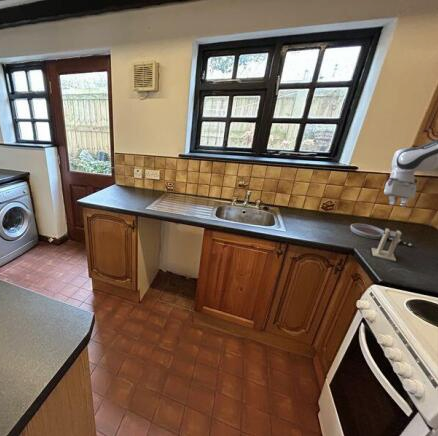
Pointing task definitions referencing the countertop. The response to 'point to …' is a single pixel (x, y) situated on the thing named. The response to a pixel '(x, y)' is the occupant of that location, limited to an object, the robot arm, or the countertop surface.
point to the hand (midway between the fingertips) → (397, 205)
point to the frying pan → (370, 232)
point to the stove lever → (390, 235)
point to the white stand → (389, 253)
